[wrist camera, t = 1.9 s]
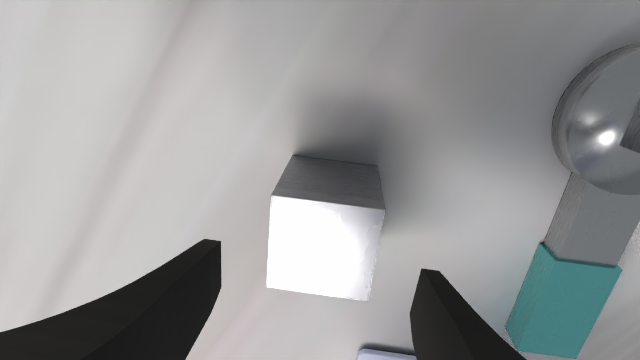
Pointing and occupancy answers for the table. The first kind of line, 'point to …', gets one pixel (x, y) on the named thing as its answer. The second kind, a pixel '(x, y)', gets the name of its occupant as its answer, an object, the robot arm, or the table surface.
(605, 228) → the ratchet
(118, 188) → the table surface
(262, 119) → the table surface
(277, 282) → the socket
